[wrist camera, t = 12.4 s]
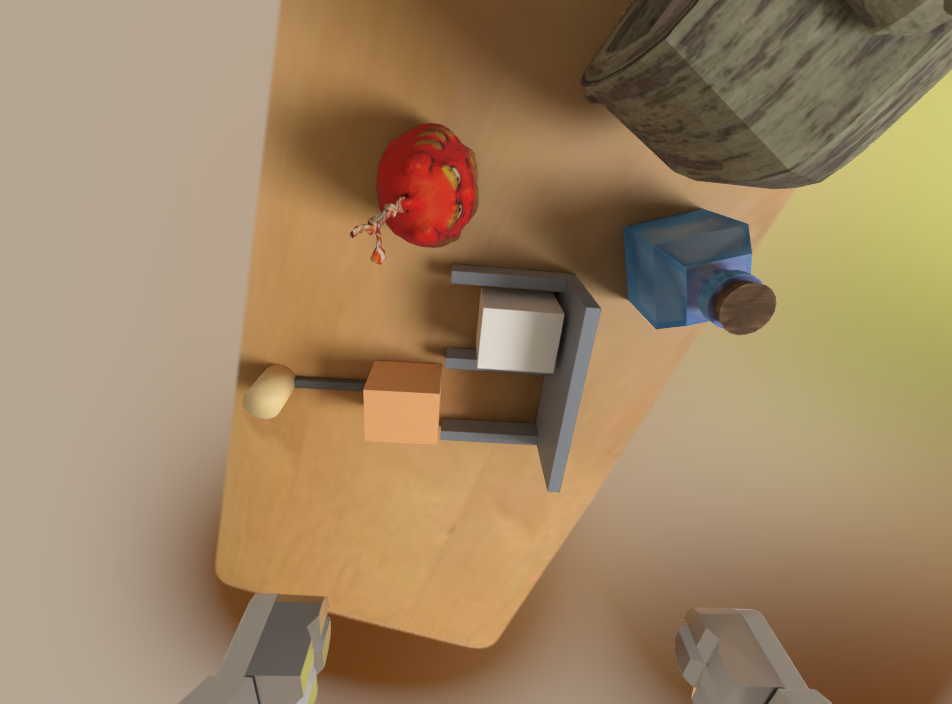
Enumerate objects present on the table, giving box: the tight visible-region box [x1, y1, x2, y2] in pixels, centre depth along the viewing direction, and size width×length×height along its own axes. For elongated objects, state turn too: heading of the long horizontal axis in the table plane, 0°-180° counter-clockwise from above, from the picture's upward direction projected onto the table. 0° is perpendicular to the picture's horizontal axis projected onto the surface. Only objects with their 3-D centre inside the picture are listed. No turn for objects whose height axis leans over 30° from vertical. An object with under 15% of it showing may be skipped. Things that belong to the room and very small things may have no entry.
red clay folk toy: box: [350, 123, 478, 265], centre depth 27 cm, size 8×7×15 cm
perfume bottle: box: [623, 209, 776, 335], centre depth 31 cm, size 6×6×12 cm
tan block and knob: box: [243, 361, 442, 444], centre depth 39 cm, size 5×16×5 cm, turn 85°
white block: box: [476, 287, 565, 373], centre depth 36 cm, size 5×6×5 cm
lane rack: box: [440, 264, 601, 492], centre depth 36 cm, size 16×10×8 cm, turn 175°
